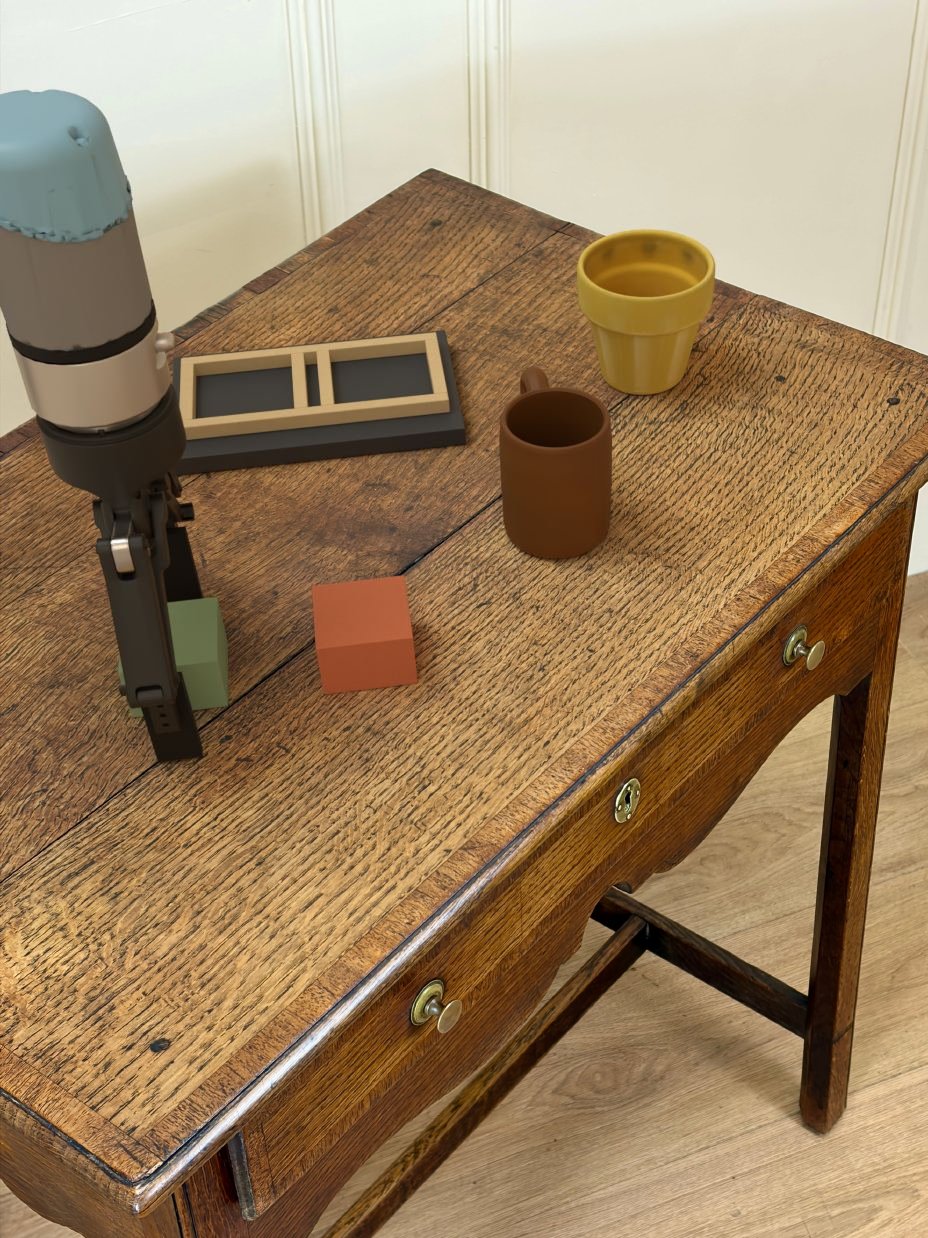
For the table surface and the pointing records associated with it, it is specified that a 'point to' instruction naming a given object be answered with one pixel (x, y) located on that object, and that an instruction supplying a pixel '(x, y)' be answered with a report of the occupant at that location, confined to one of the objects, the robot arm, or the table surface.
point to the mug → (555, 468)
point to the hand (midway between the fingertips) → (182, 678)
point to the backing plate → (317, 401)
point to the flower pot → (645, 305)
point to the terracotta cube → (363, 635)
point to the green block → (198, 652)
